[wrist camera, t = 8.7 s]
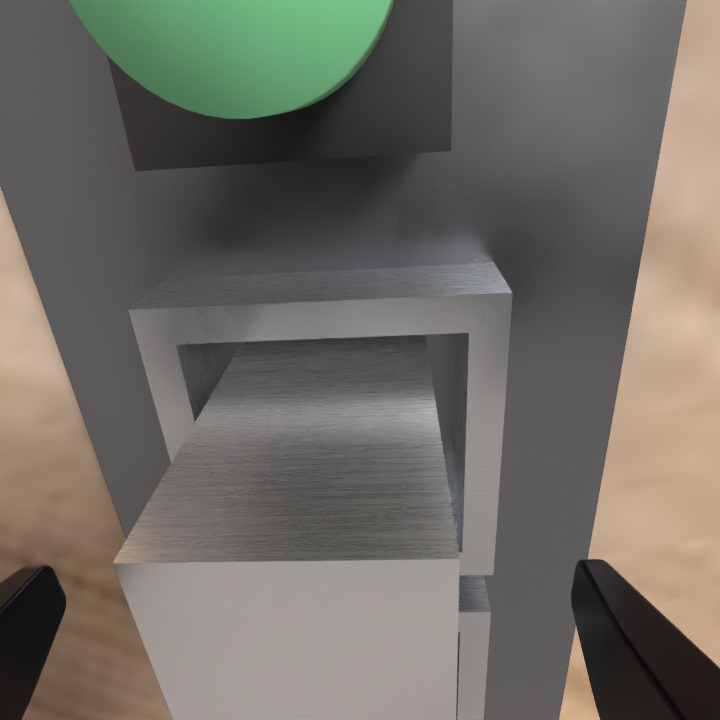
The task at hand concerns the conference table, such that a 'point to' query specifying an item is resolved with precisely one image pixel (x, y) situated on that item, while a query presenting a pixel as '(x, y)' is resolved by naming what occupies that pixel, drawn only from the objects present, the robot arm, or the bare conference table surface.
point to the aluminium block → (304, 542)
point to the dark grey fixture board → (369, 264)
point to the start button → (237, 49)
